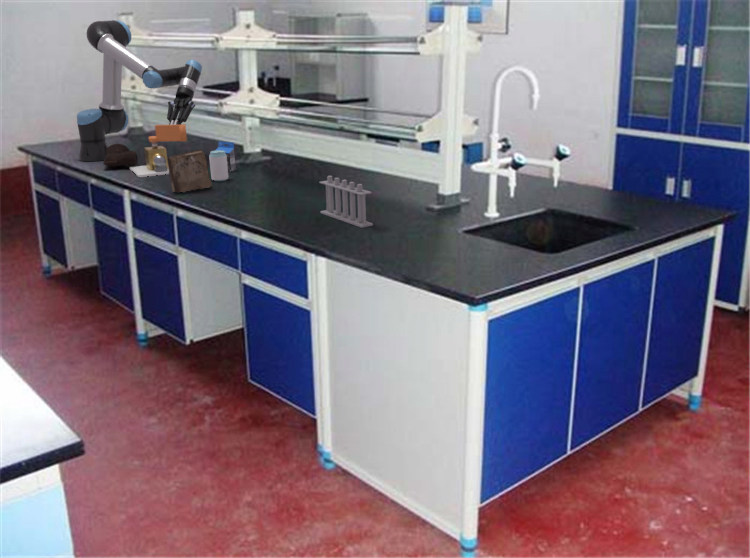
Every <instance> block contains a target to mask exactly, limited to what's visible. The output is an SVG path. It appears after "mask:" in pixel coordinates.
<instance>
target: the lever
mask: <svg viewBox="0 0 750 558" xmlns="http://www.w3.org/2000/svg"><path fill="white" fill-rule="evenodd" d="M154 129H155V135H152V136H151V135H150V136H148V142H149V143H152V142H157V143H158V142H187V141H188V136H187V129H186V124H184V123H181V125H169V124H156V125H154Z"/></svg>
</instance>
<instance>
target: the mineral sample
mask: <svg viewBox="0 0 750 558" xmlns="http://www.w3.org/2000/svg"><path fill="white" fill-rule="evenodd" d="M167 163H168V169H169V174H168V175H169V178H170V180H169V181H170V184H171V185H170V186H171V190H172V193H173V192H178V193H177V194H180V193H179V192H183V193H187V192H186V191H189V192H192V191H191V190H193V191H197V190H196V189H200V190H205V189H204V188H209V189H210V188H211V187H212V186H213V184H212V181H211V179H210V178H211V177H210V172H209V169H208V161H207V158H206V155H205V152H204V151H203V149H195V150H191V151H186V152H183V153H178V154H175V155H170V156H167Z"/></svg>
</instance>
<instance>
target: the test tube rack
mask: <svg viewBox="0 0 750 558" xmlns="http://www.w3.org/2000/svg"><path fill="white" fill-rule="evenodd" d="M326 179H327V180H322V181H319V182H318V183H319V184H322V185H325V198H326V199H325V200H326V209H325V210H324V209H323V210H320V214H321V215H325V216H327V217H331V218H334V219H336V220H340V221H341V222H345V223H348V224H351V225H353V226H357V227H358V228H361V229H362V228H367V227H371V226H372V227H373V226H374V223H373V222H370V221H367V215H366V214H367V212H366V211H367V210H366V206H367V205H366V195H370V194H372V193H373V192H372V191H370V190H366V189H364V187H363V184H362V183H358V184H356V183H355V182H354V181H350V182H349V183H348V181H347V179H340V177H334V178H333V175H327V177H326ZM333 179H334V180H333ZM340 181H341V182H340ZM355 186H356V187H355ZM341 193H342V196H341ZM348 193H349V196H348ZM356 196H357V211H356ZM341 198H342V200H341ZM348 198H349V199H348ZM334 199H335V203H334ZM348 200H349V201H348ZM334 206H335V207H334ZM349 209H350V214H349ZM356 212H357V213H356ZM356 215H357V217H356Z"/></svg>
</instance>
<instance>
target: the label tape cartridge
mask: <svg viewBox="0 0 750 558" xmlns="http://www.w3.org/2000/svg"><path fill="white" fill-rule="evenodd" d="M217 143H218V144H217V145H218V147H217V148H216V149H215V150H223V151H224V152H225V154H226V156H227V167H228V172H231V171H232V172H235V171H236V170H237V168H236V156H235V143H234V142H232V141H231V142H229V141H218V142H217ZM234 170H235V171H234ZM232 172H231V173H232Z"/></svg>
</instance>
